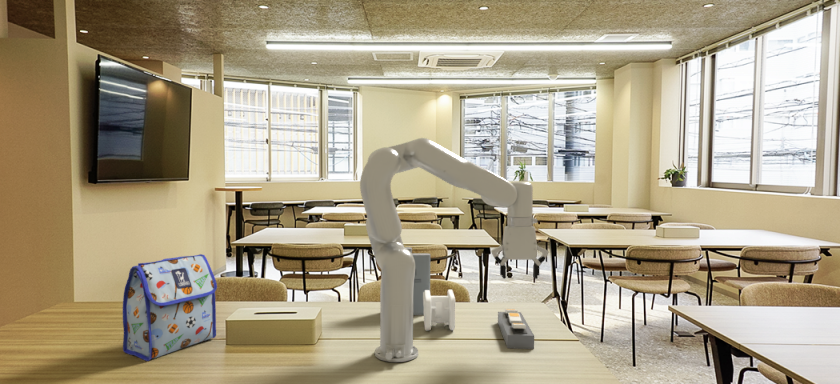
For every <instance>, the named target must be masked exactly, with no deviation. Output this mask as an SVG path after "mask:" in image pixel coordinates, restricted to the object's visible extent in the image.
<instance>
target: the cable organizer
mask: <svg viewBox="0 0 840 384" xmlns="http://www.w3.org/2000/svg"><path fill="white" fill-rule="evenodd" d="M446 292H447V295H431V289H430V290H425V291H424V292H423V306H424V315H423V323H424V325H423V326H424V330H425V331H427V332H429V331H431V328H432V325H433V326H434V327H435V328H436V326H437V324H444V325H443V326H444V327H445V326H448V327H449V330H450V331H454V330H455V329H456V297H455V294H454V290H453V289H447V291H446Z"/></svg>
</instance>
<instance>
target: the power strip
mask: <svg viewBox="0 0 840 384" xmlns="http://www.w3.org/2000/svg"><path fill="white" fill-rule="evenodd" d="M518 313H519V314H520V317H521V321H522V322H521V323H522V324H525V325H526V328H513V327H512V323H510V321H509V317H508V313H506V312H505V311H498V312H497V325H498V327H499V330H500V332H501V335H502V338H503V340H504V342H505V346H506V348H507V349H527V350H528V349H530V350H533V349H535V335H534V333H533V331H532V330H531V328H530V326H529V324H528V323H527V322H528V321H526V319H525V317H524V315H523V313H522V311H520V312H519V311H518Z"/></svg>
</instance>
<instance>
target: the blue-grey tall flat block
mask: <svg viewBox="0 0 840 384" xmlns="http://www.w3.org/2000/svg"><path fill="white" fill-rule="evenodd" d="M404 247H405V246H404ZM405 248H406V249H408V250H409V251H410V252H411V254H412V255H413V258H414V261H415V277H414V287H413V316H424V306H423V292H424V291H425V290H430V291H431V253H425V252H424V253H422V252H421V253H415V252H414V253H413V250H412V249H413V248H412V247H409V246H406V247H405Z"/></svg>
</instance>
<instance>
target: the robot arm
mask: <svg viewBox="0 0 840 384" xmlns="http://www.w3.org/2000/svg"><path fill="white" fill-rule="evenodd" d="M417 168H420V169H421V170H423V171H425V172H427V173H429V174H431V175H433V176H434V177H436V178H438V179H440V180H442V181H443V182H445V183H447V184H449V185H451V186H454V187H455V188H459V189H463V190H467V191H470V192H472V193H474V194H476V195H479V196H480V198H481V201H483V202H484V204H486V205H488V206H491V207H497V208H498V207H499V208H505V209H506V208H507V218H506V219H507V226H505V225H504V227H503V228H504V229H503V235H502V245H500V246H497V247H495V248H494V249H492V250H490V251H491V254H492V257H493V258H494V260H495V261H496V262H497V263H498V264H499V266H500V268H499V272H500V273H499V274H500V276H501V277H502V279H503V280H504V279H506V277H507V268H506V267H507V266H506V263H507V262H508V261H509V260H512V261H514V260H515V261H516V260H517V261H520V260H523V261H528V260H529V261H531V260H532V261H533V266H532V269H533V270H532V272H533V273H532V276H533V278H534V279H536V280H538V278H539V277H538V276H540V266H541V265H542V263H543V262H544V261H546V259H547V256H548V255H549V250H547V249H545V248H543V247H541V246H540V245H538V243H537V234H536V232H537V231H536V228H535V226H533V225H534V224H537V223H538V219H537V218H535V217H533V212H534V210H533V201H534V200H533V197H534V196H533V190H534V189H533V188H534V187H533V184H532V183H531V182H526V181H512V182H511V181H508V180H506V179H505V178H504V177H501V176H499V174H496V173H494V172H492V171H490V170H489V169H487V168H485V167H484V168H483V167H481V166H479V165H477V164H475V163H474V162H471V161H469V160H467V159H465V158H463V157H462V156H459V155H457V154H456V153H454V152H453V151H452V150H451V151H450V150H449V149H448V148H445V147H443V146H442V145H440V144H439V143H437V142H435V141H433V140H431V139H429V138H427V137H426V138H425V137H420V138H416V139H413V140H410V141H407V142H403V143H400V144H396V145H391V146H388V147H381V148H378V149H376V150H373V151H372V152H371V153H370V154H369V155H368V158H367V162H366V164H365V166H364V167H363V170H362V173H361V176H360V181H359V182H360V183H359V190H360V195H361V200H362V202H363V207H364V211H365V214H366V217H367V218H366V220H365V229H366V233H367V237H368V240H369V242H370V246H371V249H372V252H373V255H374V258H375V261H376V264H377V265H378V267H379V268H380V270H381V273H380V275H381V276H380V277H381V279H380V296H379V297H380V298H379V299H380V300H379V301H380V308H379V309H380V311H379V312H380V314H379V315H380V320H379V321H380V323H379V324H380V325H379V326H380V328H379V331H380V335H379V337H380V338H379V339H380V341H379V342H380V343H379V346H378V347H376V348H375V349H374V356H375V357H376V358H377V359H379V360H381V361H383V362H388V363H403V362H409V361H412V360H414V359H416V358H417V357H418V355H419V349H418V348H417V347H416V346H414V315H413V287H414V277H415V261H414V258H413V255H412V254H411V252H410V251H409V250H408V249H406V248H405V246H404V243H403V240H402V236H401V234H402V231H403V226H402V221H401V218H400V216H399V213H398V210H397V207H396V204H395V201H394V197H393V194H392V189H391V187H392V185H391V184H392V180H393V178H394V176H395V175H396V174H400V173H404V172H407V171H411V170H414V169H417ZM501 251H502V257H501V258H500V257H499V255H498V253H499V252H501ZM538 252H540V253H542V254H541V255H540V257H539V258H537V257H538Z"/></svg>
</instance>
